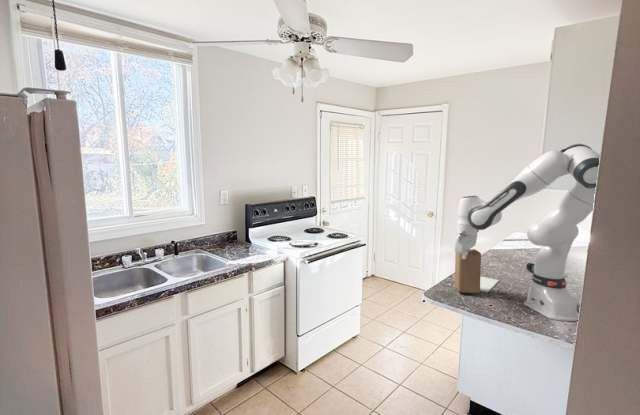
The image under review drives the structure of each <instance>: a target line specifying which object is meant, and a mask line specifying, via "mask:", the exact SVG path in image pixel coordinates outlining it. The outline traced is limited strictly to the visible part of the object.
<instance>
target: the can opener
mask: <svg viewBox="0 0 640 415" xmlns="http://www.w3.org/2000/svg"><path fill="white" fill-rule="evenodd" d="M534 267H535V263H531V262H527V264H526V268H525V269H526V270H528V271H529V272H530V273H532V274H533V272H534Z"/></svg>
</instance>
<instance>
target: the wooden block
mask: <svg viewBox="0 0 640 415" xmlns="http://www.w3.org/2000/svg"><path fill="white" fill-rule="evenodd" d="M454 257H455V261H454V262H455V264H454V288H455V289H456V290H457V292H459V293H466V294H479V293H480V292H481V291H480V276H481V274H482V273H481V268H482V266H481V264H482V253H481V252H480V251H478V250H477V249H475V248H470V249H469V252H468V256H467V258H466V259H462V253H457V252H455V256H454Z"/></svg>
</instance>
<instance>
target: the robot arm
mask: <svg viewBox="0 0 640 415" xmlns="http://www.w3.org/2000/svg"><path fill="white" fill-rule="evenodd" d="M600 156H601V155H600V154H599V153H598V152H597V151H595V150H594V149H592V148H591V147H590V146H588V145H586V144H583V143H575V144H571V145H569V146H568V147H566V148H563V149H561V150H556V149H553V150H549V151H547V152H545V153H543V154H542V155H540V156H538V157H537V158H535V159H534V160H533V161H531V162H530V163H528V165H526V166H525V167H524V168H523V169H522V170H521V171H520V172H519V173H518V174H517V175H516V176H515V178H513V179H512V180H511V181H510V182H509V183H508V185H507V186H505V187H504V189H501V191H500V192H498V193H497V194H496V195H495V196H493V197H492V198H490V200H488V201H485V200H483V199H482V198H480V197H479V196H477V195H468V196H462V197H461V198H460V200H459V202H458V207H457V208H458V210H457V216H458V219H457V221H456V232H455V233H456V234H458V235H457V236H456V237H455V243H454V252H455V253H456V252H457V253H462V259H466V258H467V256H468V252H469V249H473V248H474V247H475V246H476V245H477V244H476V243H477V239H478V233H480V232H479V231H483V230H486V229H488V228H490V227H492V226H494V225H497V224H498V223H499V222H500V221H501V220H502V217H503V214H502V212H503V211H504V210H505V209H506V208H508V207H509V206H511V205H512V204H513V203H515V202H516V201H519V200H521V199H523V198H527V197H530V196H533V195H536V194H538V193H539V192H541V191H543V190H545V189H546V188H547V187H548V186H549V187H550V186H551V184H553V183H554V182H555V181H557V179H559V178H561V177H563V176H566V175H571V176H572V177H573V178H574V180H575V182H574V184H573V185H572V186H571V187H570V188H569V189H568V191H567V192H566V193H565V194H564V195H563V197H562V198H561V199H560V200H559V201H558V202H557V203H556V204H555V206H554V207H553V208H551V209H550V210H549V211H548V212H546V214H544V215H543V216H542V217H541V218H540V219H538V220H537V221H536V222H534V223H533V224H531V225H530V226H528V228H527V231H526V236H527V239H528V240H529V241H530V243H531V244H533V245H535V246H539V247H540V249H539V250H538V252H537V253H536V255H535V259H534V264H535V267H534V272H533V273H532V275H531V276H532V277H531V280H532V282H531V284H530V286H529V287H528V292H527V297H526V300H525V301H524V302H523V305H524V306H526V307H528V308H529V309H531V310H534V311H535V312H537V313H539V314H541V315H543V316H544V317H546V318H548V319H550V320H554V321H559V322H562V321H563V322H577V320H578V314H580V313H579V312H578V311H577V309H578V305H577V300H576V298H574V297H573V296H572V295H571V293H570V291H569V290H568V289H567V286H568V283H569V282H566V278H565V270H566V263H567V257H568V254H569V252H570V250H571V249H572V248H571V247H572V245H573V243H574V241H575V240H576V238H577V237H578V236H579V226H578V225H579V224H580V223H581V222H583V221H584V220H585V219H587V218H588V216H589V215H591V213H592V212H593V211H594V209H593V203H594V194H595V187H596V180H597V173H598V165H599V158H600Z"/></svg>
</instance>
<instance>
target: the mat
mask: <svg viewBox="0 0 640 415" xmlns="http://www.w3.org/2000/svg"><path fill="white" fill-rule="evenodd" d="M499 281H500V280H499V279H496V278H491V277H487V276H486V277H485V276H481V275H480V292H482V293H483V292H484V293H489V291H491V290H492V289H493V287H495V286H496V284H497V283H498V282H499Z"/></svg>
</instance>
